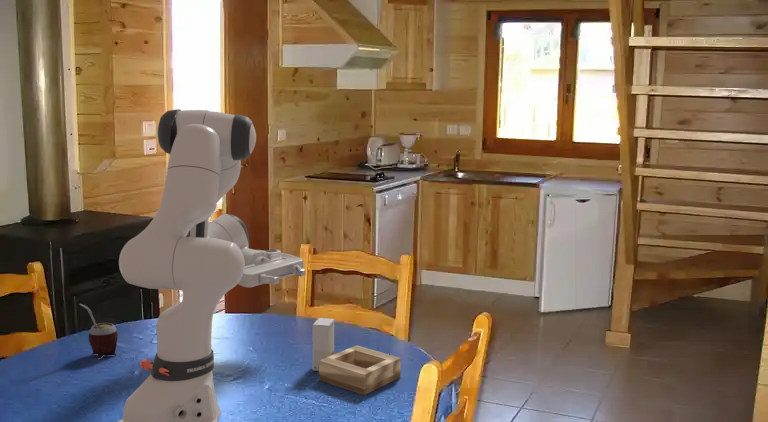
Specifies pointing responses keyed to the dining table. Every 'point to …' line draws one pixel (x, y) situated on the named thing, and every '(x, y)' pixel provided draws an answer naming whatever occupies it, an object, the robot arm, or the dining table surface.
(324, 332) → the skincare box
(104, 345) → the mate gourd
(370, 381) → the socket block
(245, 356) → the dining table surface
